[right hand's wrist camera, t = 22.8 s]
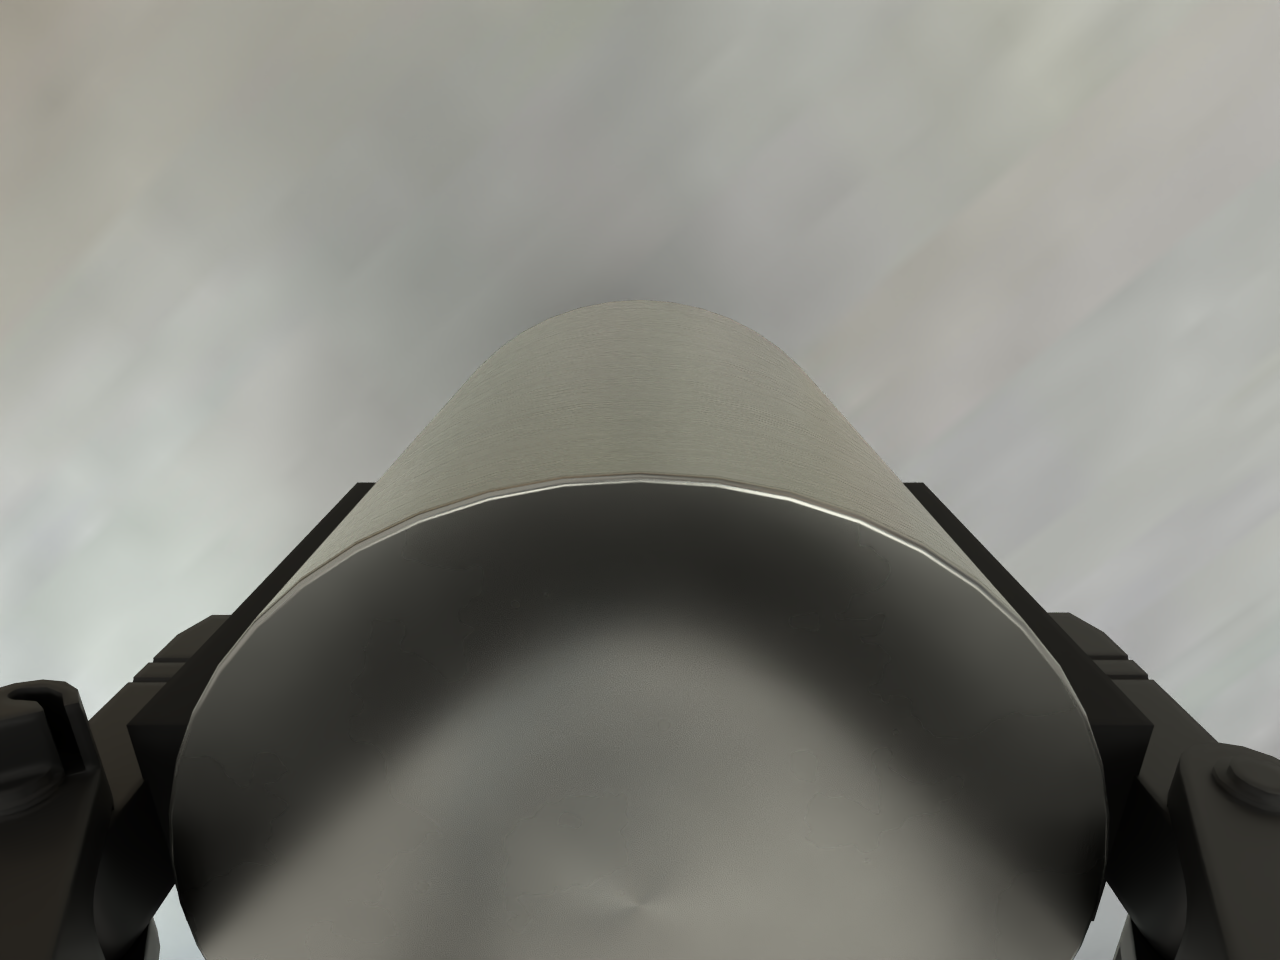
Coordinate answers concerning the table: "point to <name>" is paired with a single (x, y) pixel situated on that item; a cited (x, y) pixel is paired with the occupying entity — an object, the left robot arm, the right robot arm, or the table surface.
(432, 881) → the can
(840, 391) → the table surface
